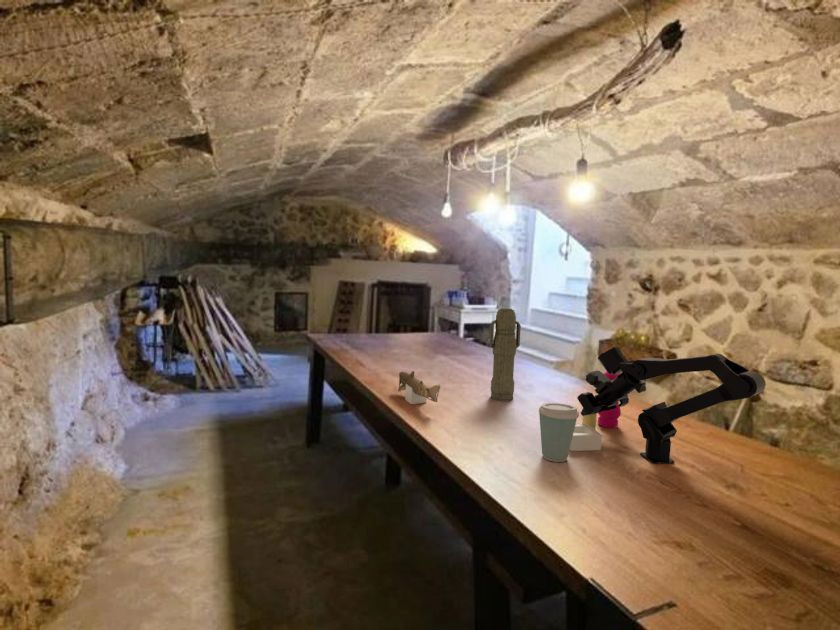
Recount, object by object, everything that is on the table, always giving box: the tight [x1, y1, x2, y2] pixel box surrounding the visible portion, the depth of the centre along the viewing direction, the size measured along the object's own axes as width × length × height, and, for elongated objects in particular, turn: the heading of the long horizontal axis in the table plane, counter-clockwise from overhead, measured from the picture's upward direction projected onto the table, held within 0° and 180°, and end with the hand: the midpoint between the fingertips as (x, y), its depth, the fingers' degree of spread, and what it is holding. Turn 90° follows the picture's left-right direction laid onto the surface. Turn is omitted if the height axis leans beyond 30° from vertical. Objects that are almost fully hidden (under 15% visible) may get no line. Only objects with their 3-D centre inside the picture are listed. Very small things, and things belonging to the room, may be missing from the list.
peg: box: [581, 394, 598, 431], centre depth 153 cm, size 4×4×12 cm
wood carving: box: [397, 370, 441, 405], centre depth 182 cm, size 9×35×11 cm, turn 23°
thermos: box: [489, 307, 522, 402], centre depth 191 cm, size 9×12×35 cm
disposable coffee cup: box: [538, 402, 580, 463], centre depth 135 cm, size 11×11×15 cm
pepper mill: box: [597, 371, 622, 429], centre depth 162 cm, size 7×7×20 cm
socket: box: [569, 423, 603, 452], centre depth 146 cm, size 9×9×4 cm
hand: (586, 413), depth 154 cm, fingers closed on peg, 4 cm apart
